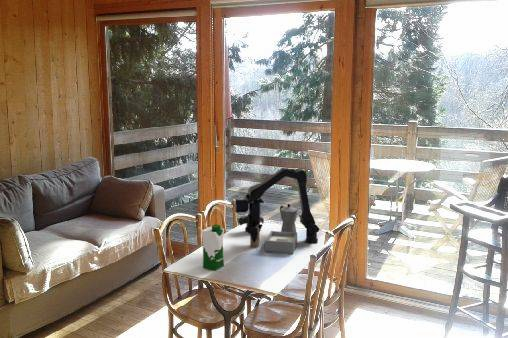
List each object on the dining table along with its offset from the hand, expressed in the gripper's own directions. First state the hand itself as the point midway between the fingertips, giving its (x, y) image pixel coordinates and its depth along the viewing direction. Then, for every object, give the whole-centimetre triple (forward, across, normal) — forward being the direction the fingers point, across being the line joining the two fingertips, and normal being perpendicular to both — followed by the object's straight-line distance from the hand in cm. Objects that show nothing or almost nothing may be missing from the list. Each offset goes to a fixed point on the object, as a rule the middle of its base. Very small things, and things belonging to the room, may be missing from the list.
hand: (255, 240), depth 247 cm
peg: (+3, 0, 0) cm, 3 cm away
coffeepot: (+3, -21, +14) cm, 25 cm away
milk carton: (+3, +31, -13) cm, 34 cm away
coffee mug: (+3, -21, -6) cm, 22 cm away
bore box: (+3, 0, +14) cm, 14 cm away
